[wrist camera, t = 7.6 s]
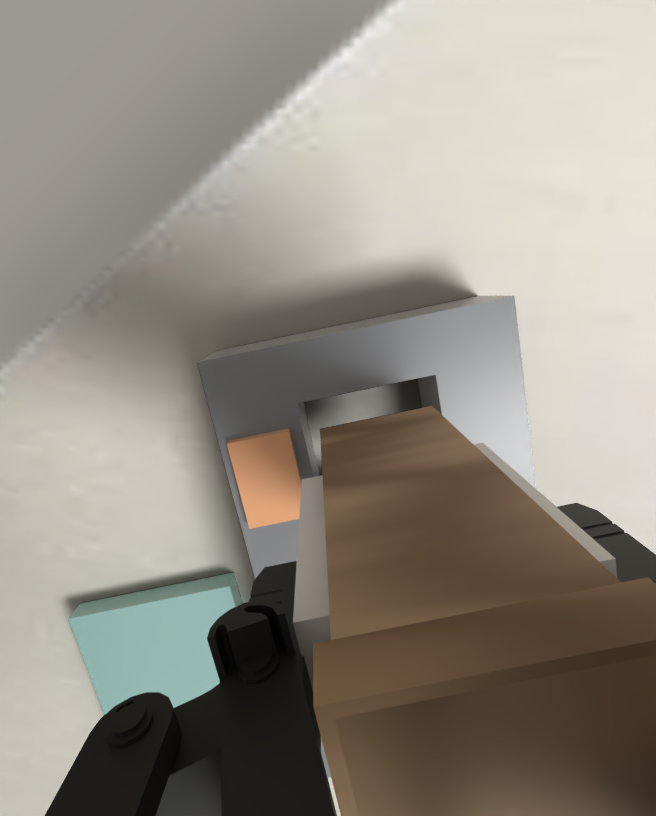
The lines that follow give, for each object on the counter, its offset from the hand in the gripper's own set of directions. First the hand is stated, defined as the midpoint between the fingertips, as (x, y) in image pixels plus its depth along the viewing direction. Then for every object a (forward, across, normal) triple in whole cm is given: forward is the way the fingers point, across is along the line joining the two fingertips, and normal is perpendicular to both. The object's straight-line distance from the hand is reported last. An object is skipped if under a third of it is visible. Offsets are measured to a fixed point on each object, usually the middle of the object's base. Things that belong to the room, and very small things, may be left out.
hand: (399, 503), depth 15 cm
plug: (+3, 0, 0) cm, 3 cm away
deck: (+9, -12, -10) cm, 18 cm away
